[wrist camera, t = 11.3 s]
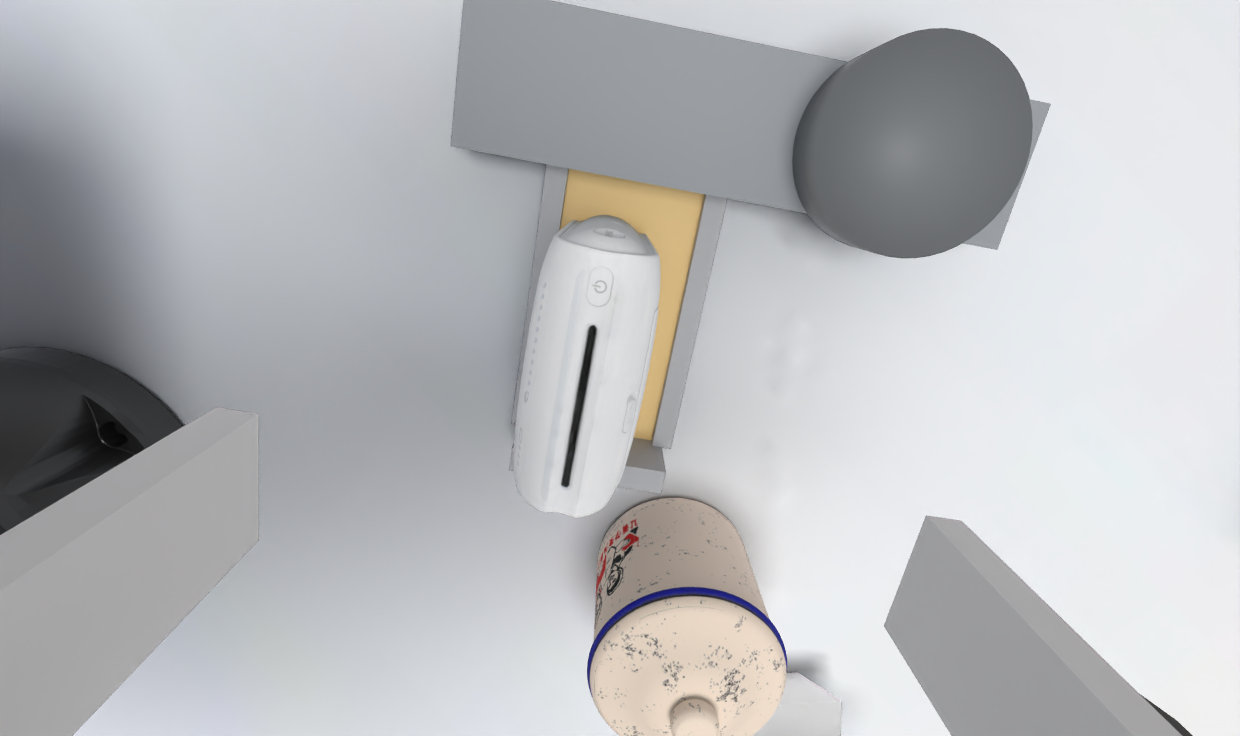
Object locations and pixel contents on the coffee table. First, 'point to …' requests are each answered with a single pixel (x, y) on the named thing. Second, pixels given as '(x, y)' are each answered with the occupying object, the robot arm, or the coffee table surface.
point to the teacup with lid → (681, 627)
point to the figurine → (804, 711)
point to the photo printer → (585, 365)
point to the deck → (738, 149)
